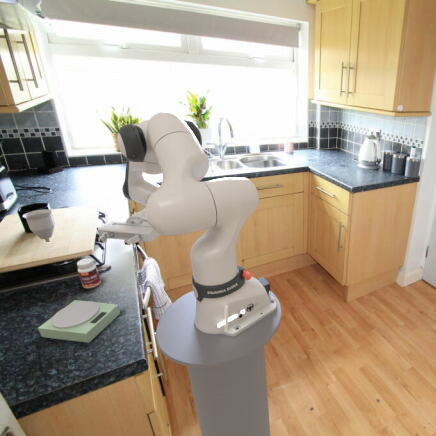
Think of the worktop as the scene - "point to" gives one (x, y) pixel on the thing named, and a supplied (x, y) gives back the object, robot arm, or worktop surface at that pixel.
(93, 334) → the scale
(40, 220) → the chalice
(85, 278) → the pill bottle
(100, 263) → the worktop surface
